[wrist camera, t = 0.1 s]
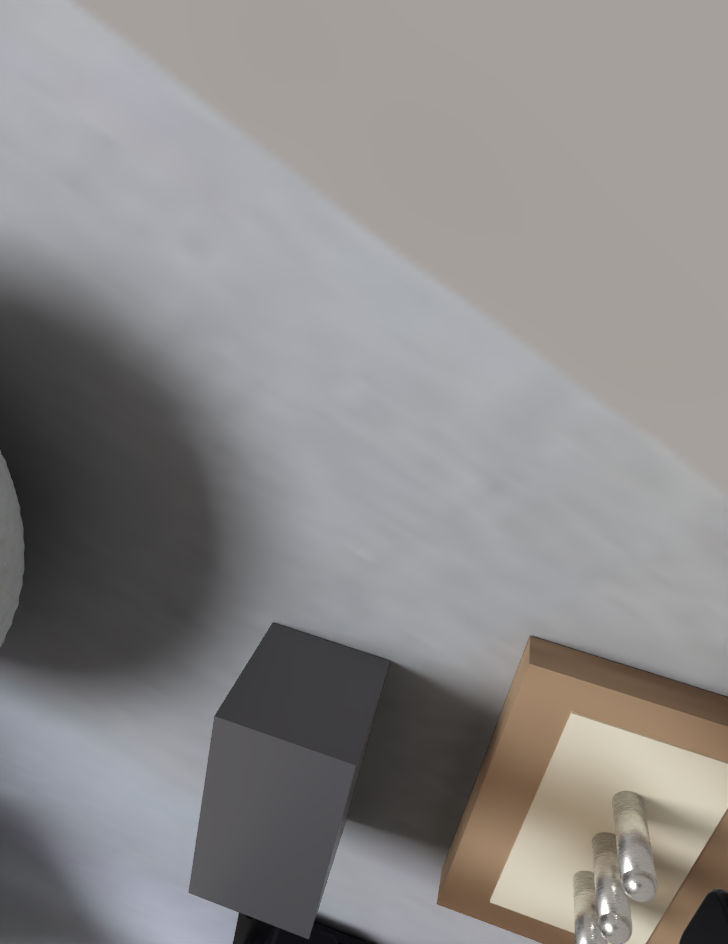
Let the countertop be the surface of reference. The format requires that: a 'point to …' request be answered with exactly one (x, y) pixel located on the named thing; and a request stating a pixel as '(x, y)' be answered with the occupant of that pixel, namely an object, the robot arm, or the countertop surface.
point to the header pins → (615, 876)
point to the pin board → (591, 795)
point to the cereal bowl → (9, 550)
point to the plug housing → (284, 776)
